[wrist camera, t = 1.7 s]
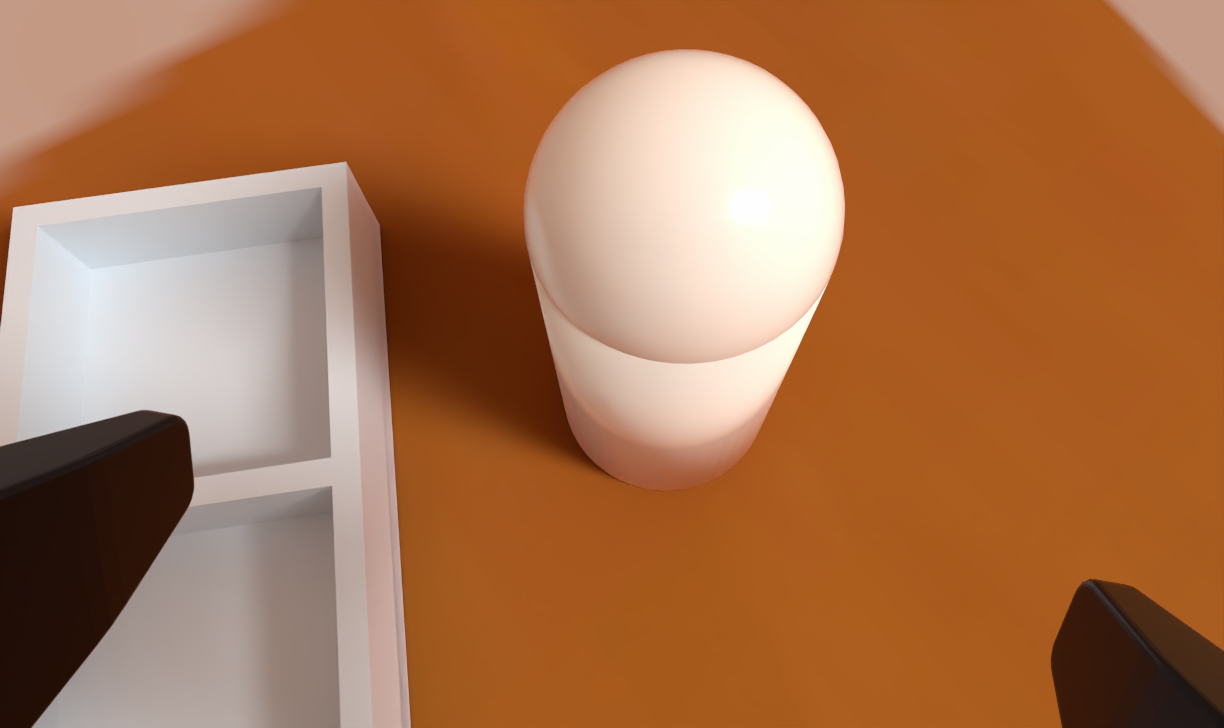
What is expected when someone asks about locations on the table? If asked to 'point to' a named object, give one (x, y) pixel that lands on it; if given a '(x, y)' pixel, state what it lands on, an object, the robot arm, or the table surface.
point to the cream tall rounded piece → (679, 257)
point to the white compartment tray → (228, 441)
